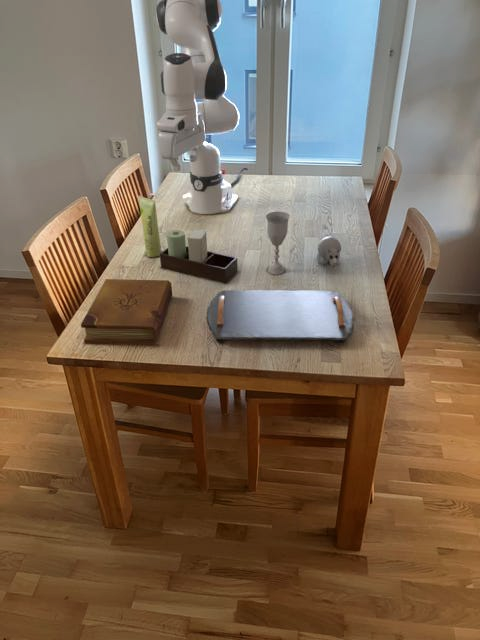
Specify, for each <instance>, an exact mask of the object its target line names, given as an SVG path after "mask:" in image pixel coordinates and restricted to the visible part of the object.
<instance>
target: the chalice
mask: <svg viewBox="0 0 480 640" xmlns="http://www.w3.org/2000/svg"><path fill="white" fill-rule="evenodd" d="M265 218H266V220H267V226H266V227H267V228H266V229H267V236H268V239H269V240H270V242H271V244H272V246H275V247H274V250H273V252H274V256H273V258H274V261H273V262H271V263H270V265H269V267H268V269H267V270H268V271H267V272H268V273H269V274H272V275H282V274H284V272H285V269H284V266H283V264H282V263H281V262H280V261H279V258H280V255H279V253H280V247H281V246H282V244H283V243H284V241H285V239H286V237H287V234H288V232H289V231H288V228H289V227H288V226H289V219H290V218H291V215H290V214H289V213H288V212H285V211H272V212H269V213H267V214H266V215H265ZM279 246H280V247H279Z"/></svg>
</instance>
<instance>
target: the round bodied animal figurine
mask: <svg viewBox="0 0 480 640" xmlns="http://www.w3.org/2000/svg"><path fill="white" fill-rule="evenodd" d="M341 251H342V246H341V242H340V241H339V240H338V239H337V238H336V237H334V236H325V237H323V238H322V239H320V241H319V242H318V244H317V255H316V258H317V259H318V260H319V264H320V265H323V266H326V265H328V264H329V265H330V266H331V267H333V268H335V267H337V266H339V264H340V257H341V254H340V253H341Z"/></svg>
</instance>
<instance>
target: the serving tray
mask: <svg viewBox="0 0 480 640" xmlns="http://www.w3.org/2000/svg"><path fill="white" fill-rule="evenodd" d="M206 310H207V312H206V317H205V319H206V323H207V326H208V329H209V330H210V332H211V334H212V336H213V337H214V338H215V340H216V342H217V343H218V344H219V343H223V341H224V340H253V341H254V340H270V341H271V340H280V341H283V340H287V341H291V340H292V341H293V340H295V341H296V340H297V341H312V340H313V341H338V343H339V344H340V345H341V344H345V343H346V341H347V340H348V339H349V338H350V336H351V335H352V331H353V330H354V326H355V325H354V324H355V323H354V319H355V318H354V313H353V310H352V308H351V307H350V306H349V303H348V302H347V300H345V298H344V297H343V296H341V294H340V293H339V292H337V291H335V290H309V289H308V290H307V289H305V290H304V289H303V290H301V289H300V290H287V289H286V290H285V289H273V290H272V289H267V290H266V289H265V290H264V289H263V290H262V289H249V290H246V289H243V290H242V289H241V290H239V289H232V290H231V289H225V290H221V291H219V292H218V293H217V294H216V295H215V297H213V299H212V300H211V301H210V303H209V306H208V307H207V308H206Z"/></svg>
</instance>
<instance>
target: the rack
mask: <svg viewBox="0 0 480 640" xmlns="http://www.w3.org/2000/svg"><path fill="white" fill-rule="evenodd" d="M207 253H208V259H206V260H205V261H204V262H203V263H200V262H196V261H192V260H189V250H188V245H186V254H185V255H184V256H183V257H182V258H179V257H174V256H170V255H169V253H168V247H166V248H165V249H163V250H162V251H161V253H160V255H159V260H160V268H161V269H164V270H167V271H172V272H176V273H179V274H185V275H187V276H192V277H197V278H200V279H205V280H208V281H211V282H212V281H213V282H217V283H221V284H225V285H226V284H227V283H228V282H229V281H230V280H231V279H232V278H233V277H234V276H235V275H236V274H237V273H238V257H236V256H232V255H227V254H223V253H219V252H213V251H210V250H207Z"/></svg>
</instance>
